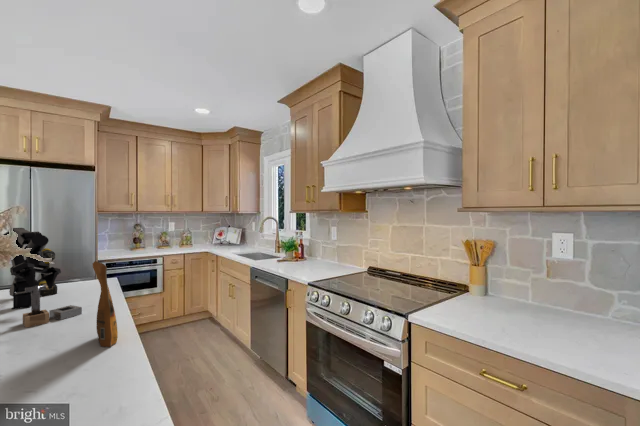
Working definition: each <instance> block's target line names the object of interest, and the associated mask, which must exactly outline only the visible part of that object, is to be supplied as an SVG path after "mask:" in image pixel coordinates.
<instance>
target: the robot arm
mask: <svg viewBox="0 0 640 426" xmlns="http://www.w3.org/2000/svg"><path fill="white" fill-rule="evenodd" d="M12 228H13V231H14V232H16V233H17V234H18V237H17V240H16V244H17V245H18V247H20V248H22V249H23V250H24V249H26V248H32V249H31V251H30V253H31V254H37V255H40V256H41V257H43V258H46V256H43V253H42V250H43V249H44V248H45V247H46V246H47V244H48V243H49V241H50V240H49V238H48V237H47V236H46V235H43V234H42V233H41V232H40V231H29V230H27V229H25V228H24V227H12ZM7 234H9V230H8V231H7V232H5V233H3V234H2V235H7ZM10 261H11V265H12V266H10V268H9V271H10V275H11V276H15V277H14V278H13V281H12V283H11V284H10V285H11V286H10V289H9V290H8V291H9V292H8V293H9V295H10V296H11V297H12V307H10V309H11V310H15V309H16V310H18V309H27V308H28V309H29V308H31V292H25V288H28V287H32V286H38V282H37V281H38V280H37V279H36V274H40V277H41V276H42V277H43V278H42V279H45V280H46V283H47V286H48V288H49V289H51V288H52V287H53V284H54V281H56V279H57V277H58V275H60V274H61V273H62V271H61V268H59V267H55V266H51V267H50V268H49V269H45V268H46V267H48V264H45V262H43V261H38V260H36V259H33V258H30V257H26V256H25V255H23V256H22V255H19V256H16V257H15V258H14V259H13V260H11V259H10Z"/></svg>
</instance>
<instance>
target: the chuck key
mask: <svg viewBox="0 0 640 426" xmlns="http://www.w3.org/2000/svg"><path fill="white" fill-rule="evenodd" d="M45 289H46V285H43V286H32V287H28V288H25V292H31V307H30V308H31V316H32V315H37V314H40V310H41V296H40V290H45Z"/></svg>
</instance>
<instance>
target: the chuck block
mask: <svg viewBox="0 0 640 426" xmlns="http://www.w3.org/2000/svg"><path fill="white" fill-rule="evenodd" d="M82 311H83V310H82V306H76V305H71V304H70V305H66V306H62V307H57V308H54V309H50V310H49V311H48V312H49V319H50V318H51V319H55V320H58V321H59V320H60V321H62V320H65V319H69V318H73V317H76V316H79V315H83V314H82V313H83V312H82Z"/></svg>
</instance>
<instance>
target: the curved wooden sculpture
mask: <svg viewBox="0 0 640 426" xmlns="http://www.w3.org/2000/svg"><path fill="white" fill-rule="evenodd" d="M92 269H93V271H94V273H95V275H96V278H97V280H98V283H99V286H100V296H99V300H98V305H97V311H96V312H97V313H96V333H97V338H98V341H99V345H100V347H102V348H111V347H112V345H115V344H117V341H118V337H119V332H118V324H117V323H118V322H117V317H116V312H115V311H116V310H115V307H114V303H113V299H112V294H111V291H110V289H109V288H110V287H109V285H108V278H107V273H108V271H107V270H108V267H107V265H105V264H104V263H102V262H99V261H98V260H95V261H93V262H92Z"/></svg>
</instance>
